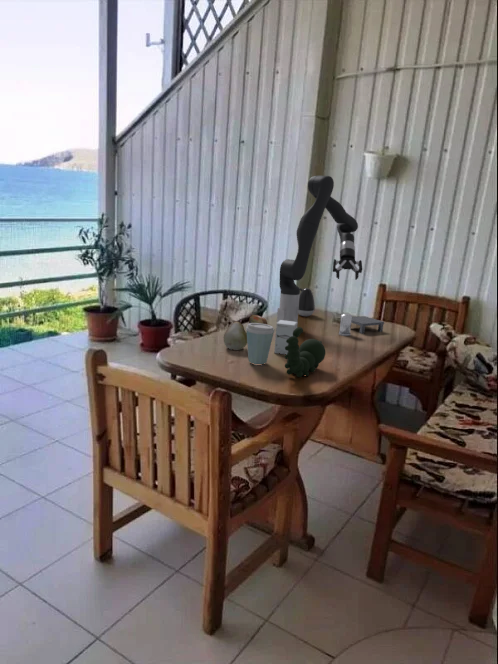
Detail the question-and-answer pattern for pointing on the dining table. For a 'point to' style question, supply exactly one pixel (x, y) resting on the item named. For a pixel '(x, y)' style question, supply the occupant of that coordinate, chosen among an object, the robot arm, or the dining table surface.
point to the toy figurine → (303, 354)
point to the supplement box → (283, 335)
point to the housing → (345, 324)
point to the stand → (367, 323)
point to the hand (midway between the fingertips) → (347, 278)
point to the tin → (257, 319)
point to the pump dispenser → (306, 302)
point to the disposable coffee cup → (259, 342)
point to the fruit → (235, 336)
